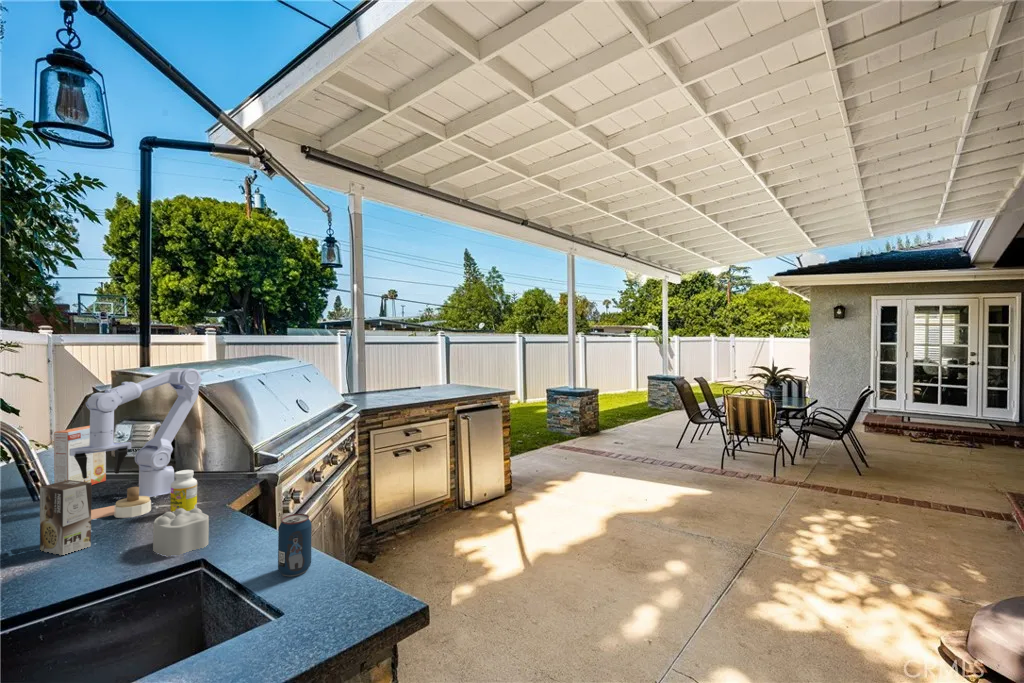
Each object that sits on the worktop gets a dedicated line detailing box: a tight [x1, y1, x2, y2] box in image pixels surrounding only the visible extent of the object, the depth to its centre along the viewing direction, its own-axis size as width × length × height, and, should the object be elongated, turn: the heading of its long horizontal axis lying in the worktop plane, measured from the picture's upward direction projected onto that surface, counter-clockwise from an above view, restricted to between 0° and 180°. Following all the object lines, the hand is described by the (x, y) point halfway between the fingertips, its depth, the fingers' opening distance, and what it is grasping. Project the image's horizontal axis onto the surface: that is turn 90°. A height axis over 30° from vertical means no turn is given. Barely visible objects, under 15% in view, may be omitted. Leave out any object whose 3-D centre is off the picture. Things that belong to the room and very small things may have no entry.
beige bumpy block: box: [152, 507, 210, 556], centre depth 123 cm, size 10×13×9 cm
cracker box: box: [53, 425, 107, 486], centre depth 172 cm, size 14×6×21 cm, turn 174°
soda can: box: [277, 513, 313, 577], centre depth 110 cm, size 7×7×12 cm
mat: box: [91, 505, 114, 521], centre depth 145 cm, size 10×10×1 cm
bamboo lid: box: [115, 486, 151, 507], centre depth 145 cm, size 8×8×4 cm
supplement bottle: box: [169, 469, 198, 512], centre depth 145 cm, size 7×7×13 cm
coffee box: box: [39, 480, 93, 556], centre depth 121 cm, size 9×6×16 cm
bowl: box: [113, 499, 152, 519], centre depth 145 cm, size 8×8×4 cm
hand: (100, 475), depth 150 cm, fingers open, 7 cm apart
